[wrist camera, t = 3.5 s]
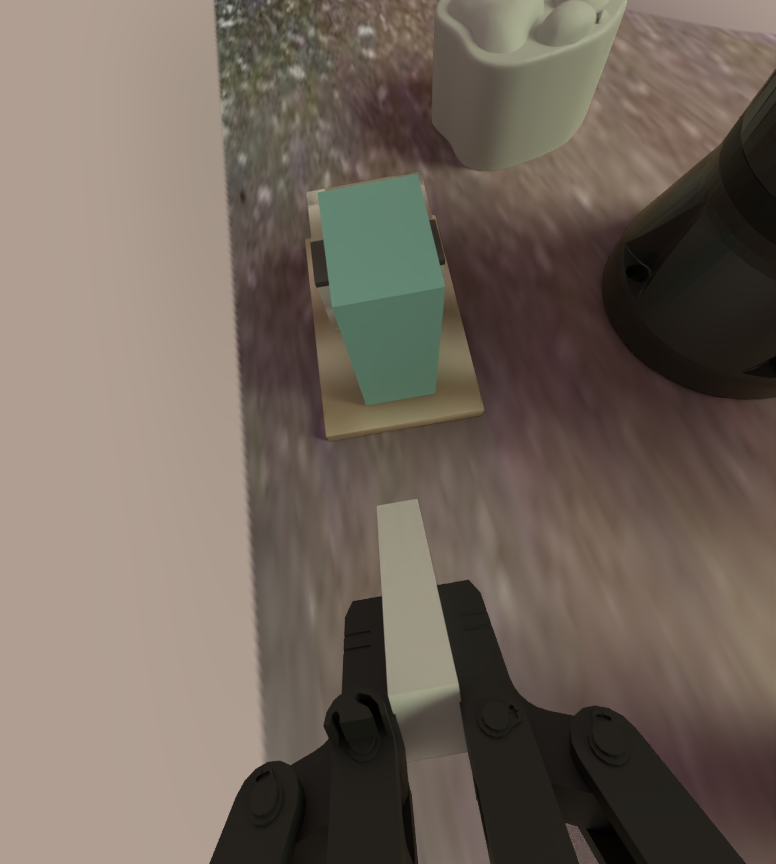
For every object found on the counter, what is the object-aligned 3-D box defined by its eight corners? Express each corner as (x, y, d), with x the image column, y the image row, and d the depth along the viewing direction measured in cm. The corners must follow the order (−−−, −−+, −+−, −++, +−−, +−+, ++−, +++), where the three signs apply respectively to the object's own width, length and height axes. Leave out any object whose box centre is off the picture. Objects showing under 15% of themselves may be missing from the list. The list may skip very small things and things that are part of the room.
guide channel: (481, 415, 25) (499, 373, 19) (329, 441, 25) (303, 407, 20) (434, 225, 30) (437, 149, 24) (308, 249, 30) (283, 178, 25)
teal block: (435, 393, 24) (445, 287, 15) (366, 405, 24) (332, 307, 15) (418, 313, 26) (417, 173, 17) (354, 325, 26) (317, 192, 17)
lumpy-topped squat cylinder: (419, 107, 34) (419, -34, 26) (548, 56, 35) (587, -96, 27) (475, 183, 31) (495, 49, 23) (615, 125, 32) (683, -25, 24)
